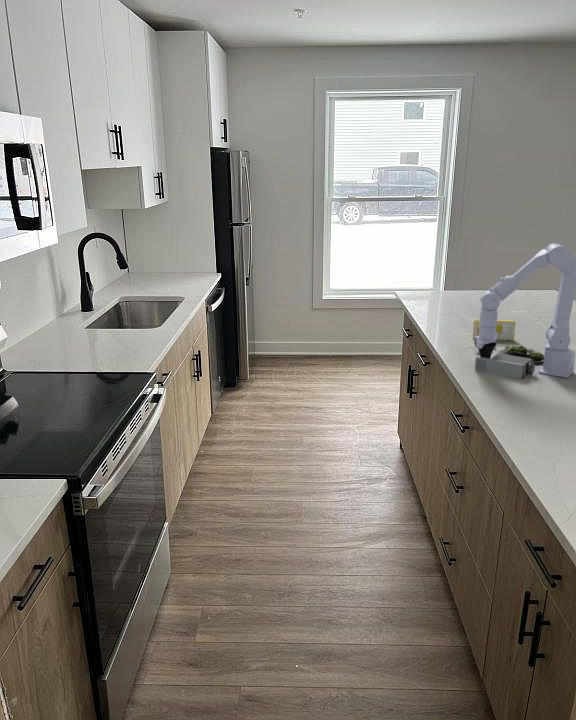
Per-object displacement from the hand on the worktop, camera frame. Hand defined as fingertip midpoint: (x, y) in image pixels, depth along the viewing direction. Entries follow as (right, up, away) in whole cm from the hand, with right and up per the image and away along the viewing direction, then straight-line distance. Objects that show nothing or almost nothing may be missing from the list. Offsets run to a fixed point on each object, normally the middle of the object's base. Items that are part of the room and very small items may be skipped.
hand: (485, 362), depth 210 cm
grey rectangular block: (+8, -3, -3) cm, 9 cm away
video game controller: (+7, +5, +22) cm, 23 cm away
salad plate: (+17, +1, +10) cm, 20 cm away
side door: (+3, -4, -5) cm, 7 cm away
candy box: (+15, +9, +35) cm, 39 cm away
